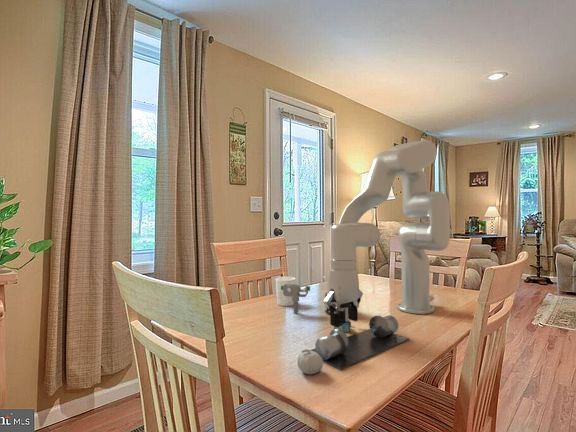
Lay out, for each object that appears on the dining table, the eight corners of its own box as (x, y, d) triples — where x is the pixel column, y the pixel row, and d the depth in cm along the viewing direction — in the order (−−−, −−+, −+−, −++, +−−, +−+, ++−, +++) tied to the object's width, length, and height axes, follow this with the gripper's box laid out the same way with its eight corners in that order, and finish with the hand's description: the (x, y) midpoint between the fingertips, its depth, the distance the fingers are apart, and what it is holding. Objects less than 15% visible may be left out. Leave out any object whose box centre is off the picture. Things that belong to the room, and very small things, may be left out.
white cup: (272, 305, 133) (272, 279, 133) (280, 300, 140) (280, 275, 140) (291, 307, 130) (291, 281, 130) (298, 302, 137) (298, 277, 137)
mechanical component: (309, 315, 120) (309, 286, 120) (280, 313, 122) (280, 285, 122) (310, 312, 123) (310, 284, 123) (282, 311, 125) (282, 283, 125)
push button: (357, 329, 105) (357, 297, 105) (351, 335, 101) (351, 301, 100) (337, 326, 108) (337, 294, 108) (330, 331, 104) (330, 298, 104)
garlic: (293, 375, 77) (292, 352, 77) (301, 365, 82) (300, 343, 82) (319, 380, 74) (319, 356, 74) (325, 369, 80) (325, 346, 79)
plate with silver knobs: (374, 328, 106) (374, 307, 105) (409, 340, 96) (409, 317, 96) (306, 353, 88) (305, 328, 88) (340, 370, 79) (340, 342, 79)
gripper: (353, 260, 112) (353, 314, 113) (314, 266, 102) (314, 326, 102) (371, 263, 107) (372, 320, 107) (332, 269, 96) (333, 333, 96)
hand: (344, 322), depth 104 cm, fingers open, 7 cm apart
